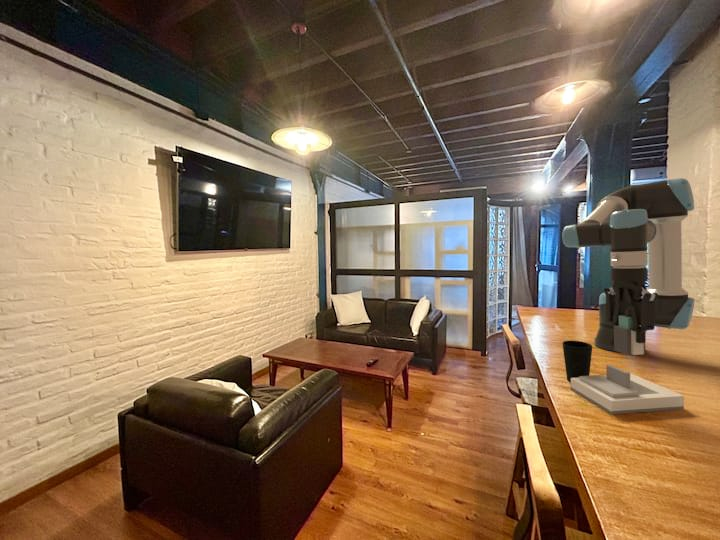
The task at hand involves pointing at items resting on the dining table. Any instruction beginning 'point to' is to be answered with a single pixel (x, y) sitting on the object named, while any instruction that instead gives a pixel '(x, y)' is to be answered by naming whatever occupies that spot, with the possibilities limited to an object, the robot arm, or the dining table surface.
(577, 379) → the socket board
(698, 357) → the dining table surface
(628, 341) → the plug
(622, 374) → the panel
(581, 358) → the cup
